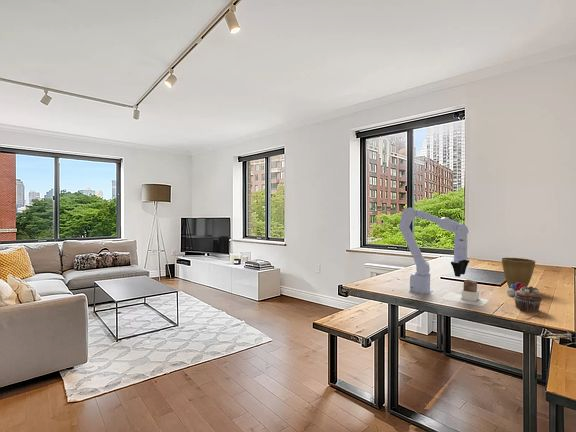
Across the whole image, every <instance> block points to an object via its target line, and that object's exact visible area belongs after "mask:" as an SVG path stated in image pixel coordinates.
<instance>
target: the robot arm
mask: <svg viewBox="0 0 576 432" xmlns="http://www.w3.org/2000/svg"><path fill="white" fill-rule="evenodd" d="M415 218H416V219H423V220H424V219H425V220H427V221H429V222H431V223H434V224H437V225H438V227H439V228H440V229H443V230H445V231H448V232H450V233H454V238H453V239H454V241H453V246H454V247H453V261H450V264H451V266H452V269H453V272H454V277H456V278H457V277H458V278H461V275H464V276H465V274H466V271H467V267H468V265H469V263H470V257H468V233H469V229H468V227H467V226H466V225H465V224H464V223H460V221H455V220H453V219H450V217H448V216H447V217H445V216H444V217H443V216H442V217H441V218H440V217H438V216H436V215H433V214H431V213H429V212H426V211H425V210H421V209H417V208H415V209H414V208H413V207H406V208H405V209H404V210H403V211H402V213H401V215H400V222H399V224H398V225H399V226H398V228H399V230H400V232H401V234H402V237H403V238H404V241H405V243H406V245H407V247H408V249H409V252H410V253H411V255H412V257H413V260H414V264H415V267H416V268H415V269H416V271H415V272H413V273H411V274H410V278H409V290H408V291H409V292H415V293H420V294H426V295H428V294H430V293H432V292H434V291H433V289H431V273H430V270H431V269H430V268H431V267H430V264H429V262H428V261H427V260H426V259H425V257H424V256H423V254H422V251H421V250H420V247H419V245H418V243H417V241H416V238H415V237H414V234H413V233H412V230H411V228H410V226H411V223H412V222H413V220H414V219H415Z"/></svg>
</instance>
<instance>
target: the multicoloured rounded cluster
mask: <svg viewBox="0 0 576 432" xmlns="http://www.w3.org/2000/svg"><path fill="white" fill-rule="evenodd" d="M524 286H526V284H521V283H520V282H517V283H516V284H511V288H508V289H507V291H506V293H507V295H508V296H509V297H514V296H515V295H517V294H516V292H517V291H519V290H520V289H521V288H523V287H524ZM526 287H528V286H526Z"/></svg>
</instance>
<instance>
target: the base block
mask: <svg viewBox="0 0 576 432" xmlns="http://www.w3.org/2000/svg"><path fill="white" fill-rule="evenodd" d="M460 292H461V293H460V295H461V299H464V300H469V301H475V302H476V301H477V300H478V299H479V298H480V296H479V295H480V290H478V289H477V291H475V292H469V291H464V288H463V289H462V290H461V291H460Z"/></svg>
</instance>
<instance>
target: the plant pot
mask: <svg viewBox="0 0 576 432" xmlns="http://www.w3.org/2000/svg"><path fill="white" fill-rule="evenodd" d="M501 263H502V269H503V274H504V277H505V281H506V283H507V286H508V289H510V288H511V284H516V283H517V282H520V283H521V284H526V286H527V287H529V285H530V282H531V279H532V277H533V273H534V271H535V265H536V260H534V259H528V258H521V257H520V258H519V257H501Z"/></svg>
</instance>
